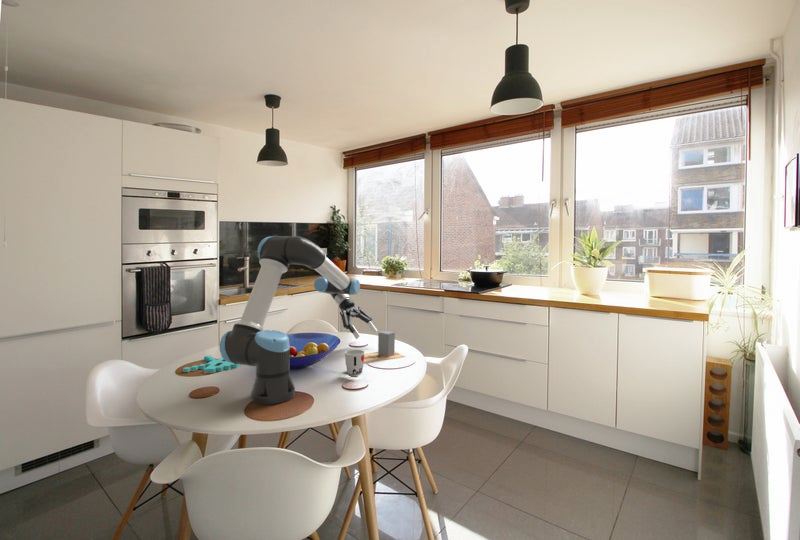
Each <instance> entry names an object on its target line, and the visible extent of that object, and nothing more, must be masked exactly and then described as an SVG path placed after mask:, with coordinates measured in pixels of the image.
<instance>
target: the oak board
mask: <svg viewBox="0 0 800 540" xmlns="http://www.w3.org/2000/svg"><path fill="white" fill-rule="evenodd" d="M400 358H406V356H405V355H403V354H401V353H398V352H396V351H395V350H394V355H393V356H390V357H385V356H380V355H378V351H376V352H370V353H364V364H363V365H366V364H370V363H371V364H372V363H377V362H382V361H389V360H395V359H400Z"/></svg>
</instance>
